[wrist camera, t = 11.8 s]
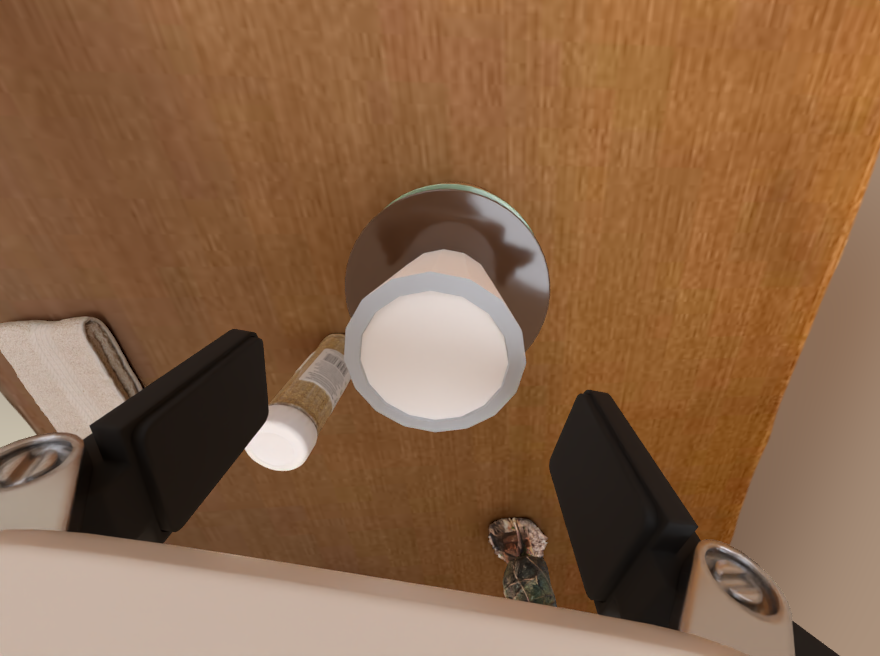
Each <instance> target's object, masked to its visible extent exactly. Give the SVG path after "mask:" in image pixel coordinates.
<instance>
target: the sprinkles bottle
mask: <svg viewBox="0 0 880 656" xmlns="http://www.w3.org/2000/svg"><path fill="white" fill-rule="evenodd" d="M344 349H345V335H344V334H331V335H329V336H327V337H325V338H324V339H323V340H322V341H321V343H320V345H319V346H318V348H317V349H316V350H315V351H314V352H313V353H312V354H311V355H310V356H309V357H308V358H307V359H306V360H305V361H304V363H303V364H302V365H301V366H300V367H299V368H298V370H297V371H296V372H295V374H294V376H293V377H292V378H291V379H290V380H289V381H288V382H287V383H286V385H285V386H284V387H283V388H282V389H281V390H280V392H279V393H278V394H277V395H276V397H275V398H274V399H273V400H272V401H271V403H270V404H269V405H268V407H269V414H268V417H267V420H266V422H265V423H264V425H263V426H262V427H261V429H260V430H259V431H258V432H257V434H256V435H255V436H254V437H253V439H252V440H251V441H250V443H249V444H248V445H247V446H246V448H245V451H246V452H247V454H248V455H249V456H250V457H251V458H252V459H253V460H254V461H256V462H257V463H258V464H260V465H262V466H264V467H266V468H269V469H272V470H278V471H288V470H293V469H295V468H298V467H299V466H301V465H302V464H303V463H304V462H305V461H306V459H307V458H308V456H309V454H310V452H311V451H312V449H313V447H314V446H315V444H316V441H317V437H318V434H319V432H320V430H321V429H322V427H323V425H324V424H325V422H326V420H327V418H328V417H329V416H330V414H331V413H332V411H333V409H334V407H335V406H336V404H337V402H338V400H339V399H340V397H341V395H342V393H343V392H344V390H345V388H346V386H347V385H348V383H349V381H350V379H351V376H350V374H349V371H348V369H347V366H346V363H345V361H344Z"/></svg>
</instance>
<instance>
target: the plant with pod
mask: <svg viewBox="0 0 880 656" xmlns="http://www.w3.org/2000/svg"><path fill="white" fill-rule="evenodd" d="M534 524H535V523H533V522H531V520H528V519H525V518H524V519H523V518H521V519H520V518H515V517H514V518H513V519H512V521H511V519H510V518H508V519H506V520H505V519H504V520H502V519H501V520H499V519H498V521H495V522H494V523H492V524H491V525H490V527H489V528H488V529H490V530H488V531H489V537H488V538H489V539H490V540H489V542H490V543H491V544H492V545H493V549H495V552H494V553H495V554H497V555H498V557H499V556H500V557H499V558H500V559H503V560H504V561H505V562H506V563H507V568H506V570H505V573H504V578H503V588H504V595H505V597H506V598H507V599H512V600H518V601H524V602H530V603H536V604H542V605H548V606H554V607H557V605H556V600H555V595H554V592H553V590H552V587H551V584H550V578H549V572H548V568H547V565H546V562H545V561H544V560H543V559H544V558H543V554H544V553H543V551H544V550H545V546H546V545H545V544H546V543H548V542H545V541H546V540H547V539H548V537H546V536H545V535H544V534H542V532H541V531H540V530H539V529H540V528H538V527H536V525H534Z"/></svg>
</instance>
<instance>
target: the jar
mask: <svg viewBox="0 0 880 656" xmlns="http://www.w3.org/2000/svg"><path fill="white" fill-rule="evenodd" d="M442 249H446V250H451V251H456V252H461V253H465V254H466V255H468V256H469V257H471V258H472V259H474V260H475V261H477V262H478V263H480V264H481V265H482V267H483V268H484V270H485V271H486V273H487V275H488V276H489V278H490V279H491V281H492V282H493V284H494V286H495V287H496V289H497V291H498V292H499V294H500V295H501V297H502V299H503V300H504V302H505V304H506V305H507V307H508V309H509V310H510V312H511V313H512V315H513V317H514V318H515V320H516V322H517V323H518V325H519V327H520V328H521V330H522V334H523V342H524V350H525V352H526V350H527V349H528V348H529V347H530V346H531V344H532V343H533V342H534V340H535V338H536V337H537V335H538V333H539V332H540V329H541V327H542V325H543V323H544V320H545V317H546V314H547V310H548V305H549V299H550V279H549V271H548V267H547V263H546V260H545V256H544V254H543V252H542V249H541V247H540V245H539V243H538V241H537V240H536V238H535V236H534V234H533V232H532V231H531V229H530V227H529V226H528V224H527V223H526V221H525V220H524V219H523V218H522V217H521V216H520V214H519V213H518V212H517V211H516V210H514V209H513V208H512V207H511V206H510V205H509V204H508V203H506V202H505V201H503V200H502V199H500V198H499V197H497V196H495V195H494V194H492V193H491V192H489V191H487V190H485V189H483V188H481V187H479V186H476V185H472V184H469V183H463V182H445V183H439V184H434V185H429V186H425V187H422V188H419V189H415V190H413V191H411V192H408V193H406V194H404V195H402V196H400V197H399V198H397V199H396V200H394V201H393V202H391V203H390V204H389V205H388V206H387V207H385V208H384V209H383V210H382V211H381V212H380V213H379V214H377V215H376V216H375V217H374V218H373V219H372V220H371V221H370V222H369V223H368V225H367V226H366V227H365V228H364V229H363V231H362V232H361V234H360V235H359V237H358V239H357V240H356V242H355V244H354V247H353V249H352V251H351V254H350V257H349V260H348V264H347V269H346V276H345V294H346V302H347V306H348V310H349V314H350V317H351V318H352V316H353V315H354V313H355V311H356V309H357V308H358V306H359V304H360V302H361V301H362V299H363V298H365V297H366V296H367V295H369V294H370V293H371V292H373V291H374V290H375V289H376V288H378V287H379V286H380V285H382V284H383V283H384V282H385V281H387V280H388V279H389V278H391V277H392V276H393V275H395V274H396V273H397V272H398V271H400V270H401V269H402V268H404V267H405V266H406V265H407V264H409V263H410V262H412V261H413V260H415V259H416V258H418V257H419V256H420V255H422V254H423V253H427V252H432V251H437V250H442Z"/></svg>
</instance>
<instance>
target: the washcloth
mask: <svg viewBox="0 0 880 656" xmlns="http://www.w3.org/2000/svg"><path fill="white" fill-rule="evenodd" d="M0 350H1V352H2V353H3V355H4V356H5V358H6V359H7V360H8V361H9V362H10V364H11V365H12V366H13V368H14V370H15V371H16V373H17V376H18V377H19V378H20V381H21V382H22V383H23V384H24V385H25V388H26V390H28V392H29V394H31V395H32V397H33V398H34V399H35V403H36V404H38V406H40V410H42V411H43V412H44V414H45V415H46V416H47V417H48V418H49V421H50V422H51V423H52V425H53V426H54V428H55V429H56V430H57V432H67V433H71V434H75V435H78V436H79V437H80V438H81V439H84V438H86V437H87V436H89V435H90V434H92V431H91V429H90V426H89V425H91V424H92V423H94V422H95V421H97V420H98V419H100V418H101V417H103V416H104V415H105V414H107V413H108V412H110V411H111V410H113V409H114V408H116V407H117V406H119V405H120V404H122V403H123V402H125V401H126V400H128V399H129V398H131V397H132V396H134V395H135V394H137V393H138V392H140V391H141V390H142V389H143V388H142V386H141V384H140V382H139V381H138V379H137V377H136V375H135V374H134V373H133V371H132V369H131V368H130V366H129V364H128V362H127V360H126V358H125V356H124V354H123V353H122V352H121V349H120V347H119V345H118V344H117V342H116V340H115V338H114V337H113V335H112V334H111V332H110V331H109V329H108V328H107V327H106V325H105V324H104V323H103V322H102V321H100V320H99V319H97V318H94V317H87V316H84V317H73V318H69V319H64V320H63V319H62V320H61V321H45V320H29V321H16V322H6V323H1V324H0Z"/></svg>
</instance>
